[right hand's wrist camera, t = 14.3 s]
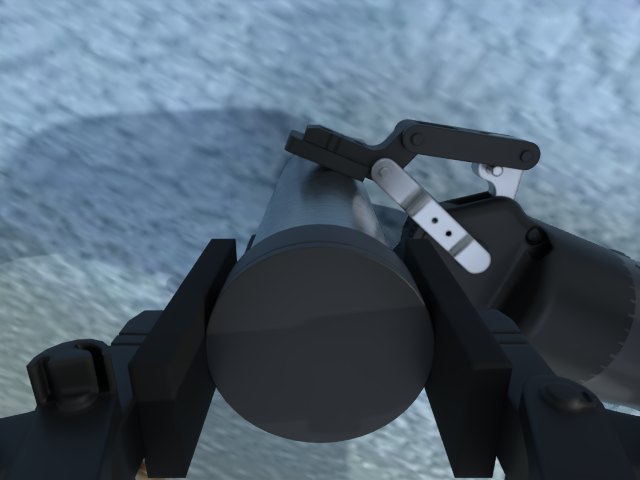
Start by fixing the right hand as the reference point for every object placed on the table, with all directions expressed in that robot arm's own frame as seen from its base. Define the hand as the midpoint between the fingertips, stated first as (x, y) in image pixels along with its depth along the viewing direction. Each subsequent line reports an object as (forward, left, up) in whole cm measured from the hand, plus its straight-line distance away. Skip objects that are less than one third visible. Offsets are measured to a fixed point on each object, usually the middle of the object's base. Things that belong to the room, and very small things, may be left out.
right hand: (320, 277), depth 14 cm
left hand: (-2, -1, -7) cm, 7 cm away
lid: (0, 0, +4) cm, 4 cm away
